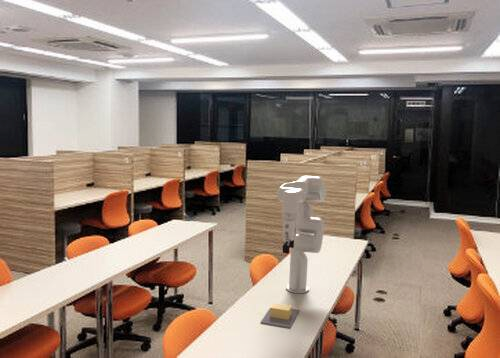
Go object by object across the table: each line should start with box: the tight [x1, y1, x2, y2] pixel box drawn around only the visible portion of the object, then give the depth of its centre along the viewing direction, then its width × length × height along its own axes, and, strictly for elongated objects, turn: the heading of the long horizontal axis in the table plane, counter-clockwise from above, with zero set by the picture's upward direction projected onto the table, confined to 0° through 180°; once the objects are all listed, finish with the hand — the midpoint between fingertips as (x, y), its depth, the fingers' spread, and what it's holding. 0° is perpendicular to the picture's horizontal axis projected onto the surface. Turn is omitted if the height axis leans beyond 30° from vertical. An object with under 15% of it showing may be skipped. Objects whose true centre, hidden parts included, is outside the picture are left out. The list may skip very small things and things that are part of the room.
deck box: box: [269, 302, 293, 320], centre depth 216 cm, size 9×6×4 cm, turn 72°
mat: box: [260, 308, 300, 329], centre depth 216 cm, size 20×14×1 cm
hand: (288, 250), depth 222 cm, fingers open, 9 cm apart
